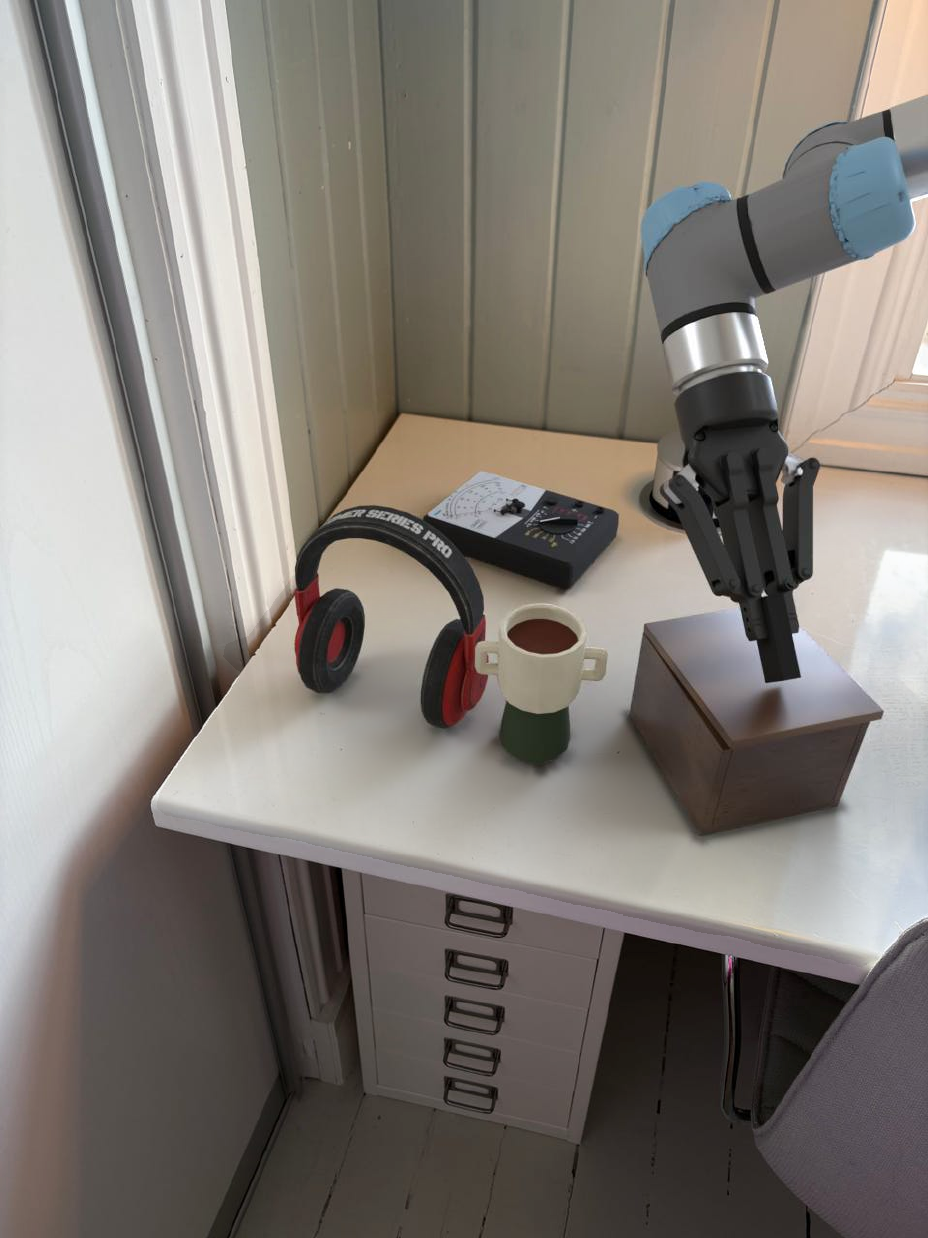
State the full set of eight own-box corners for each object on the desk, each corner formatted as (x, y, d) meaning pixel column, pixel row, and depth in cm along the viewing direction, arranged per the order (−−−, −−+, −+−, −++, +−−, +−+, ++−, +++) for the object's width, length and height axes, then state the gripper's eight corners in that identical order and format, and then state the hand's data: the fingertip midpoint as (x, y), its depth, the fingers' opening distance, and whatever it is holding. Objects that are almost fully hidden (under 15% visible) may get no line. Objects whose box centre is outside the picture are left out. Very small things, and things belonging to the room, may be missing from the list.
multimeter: (569, 593, 101) (572, 555, 98) (421, 542, 108) (420, 505, 105) (618, 537, 110) (623, 501, 106) (478, 493, 117) (478, 458, 114)
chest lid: (881, 719, 70) (884, 710, 70) (730, 749, 67) (732, 741, 67) (774, 609, 82) (775, 601, 82) (642, 631, 80) (643, 623, 79)
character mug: (594, 719, 85) (609, 606, 77) (596, 776, 80) (613, 661, 72) (476, 711, 86) (478, 599, 78) (470, 768, 80) (472, 653, 72)
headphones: (498, 688, 88) (506, 507, 76) (459, 759, 81) (461, 571, 69) (335, 643, 94) (318, 467, 81) (284, 706, 86) (257, 522, 74)
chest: (838, 806, 77) (871, 721, 71) (700, 836, 75) (722, 750, 69) (751, 691, 88) (773, 609, 82) (629, 714, 86) (642, 631, 80)
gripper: (770, 395, 78) (830, 670, 76) (626, 411, 75) (684, 697, 73) (820, 358, 71) (888, 662, 68) (663, 374, 68) (728, 691, 66)
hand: (782, 680), depth 71 cm, fingers closed
